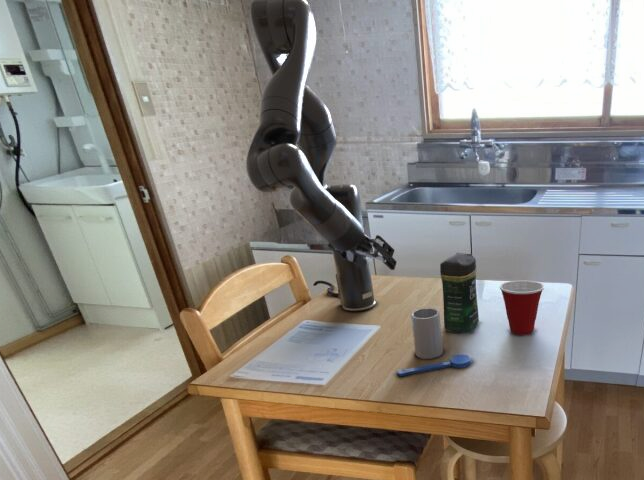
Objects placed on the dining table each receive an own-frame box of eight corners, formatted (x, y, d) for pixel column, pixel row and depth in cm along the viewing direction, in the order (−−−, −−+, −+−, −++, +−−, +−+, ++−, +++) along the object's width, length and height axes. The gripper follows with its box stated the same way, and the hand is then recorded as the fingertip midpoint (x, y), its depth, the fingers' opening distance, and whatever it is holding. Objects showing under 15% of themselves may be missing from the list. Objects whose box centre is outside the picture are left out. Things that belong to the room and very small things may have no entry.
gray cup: (410, 354, 121) (405, 314, 116) (429, 344, 125) (425, 305, 120) (429, 361, 118) (424, 321, 113) (448, 351, 122) (445, 311, 117)
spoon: (399, 379, 111) (398, 375, 110) (396, 370, 115) (395, 366, 114) (473, 365, 115) (473, 361, 114) (467, 357, 119) (467, 352, 118)
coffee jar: (469, 336, 128) (464, 263, 119) (440, 332, 131) (433, 260, 122) (483, 321, 136) (480, 251, 127) (456, 318, 139) (450, 249, 129)
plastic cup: (548, 323, 133) (549, 278, 127) (538, 341, 124) (538, 293, 118) (507, 320, 136) (506, 275, 130) (495, 337, 127) (493, 290, 121)
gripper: (368, 207, 104) (409, 252, 117) (315, 209, 110) (360, 251, 124) (356, 239, 102) (399, 281, 116) (303, 239, 108) (350, 279, 122)
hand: (379, 266), depth 120 cm, fingers open, 8 cm apart
